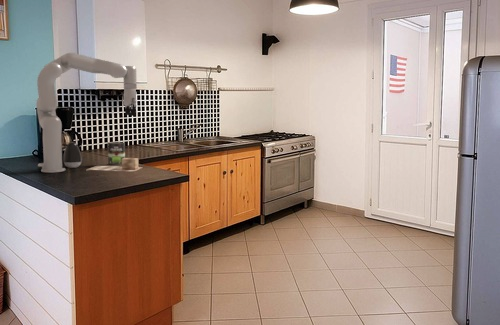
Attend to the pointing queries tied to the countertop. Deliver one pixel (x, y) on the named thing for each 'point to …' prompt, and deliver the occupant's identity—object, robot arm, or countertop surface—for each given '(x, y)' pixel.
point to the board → (110, 168)
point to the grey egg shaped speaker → (72, 155)
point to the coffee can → (116, 152)
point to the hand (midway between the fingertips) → (130, 115)
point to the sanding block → (130, 164)
